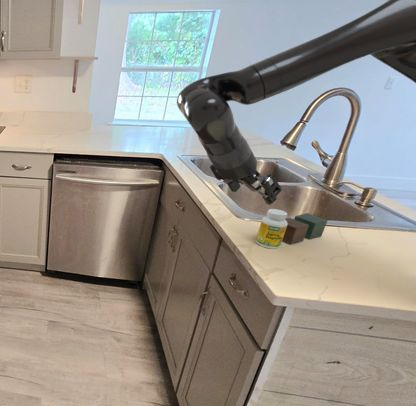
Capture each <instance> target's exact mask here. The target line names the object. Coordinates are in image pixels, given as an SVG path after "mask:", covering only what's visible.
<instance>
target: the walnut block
mask: <svg viewBox="0 0 416 406" xmlns="http://www.w3.org/2000/svg"><path fill="white" fill-rule="evenodd" d="M285 220H286V221H287V223H288V225H287V228H286V231H285V234H284V237H283V240H282V242H283V243H285V244H288V245H291V246H292V245H294V244H299V243H303V242H304V240H305V238H304V237H305V235H306V232H307V229H308V227H309V225H308V224H305V223H302V222H300V221H297V220H294V218H291V217H286V219H285Z"/></svg>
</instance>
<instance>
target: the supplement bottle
mask: <svg viewBox="0 0 416 406" xmlns="http://www.w3.org/2000/svg"><path fill="white" fill-rule="evenodd" d="M286 218H288V213H287V212H286V211H285V210H282V209H277V208H270V209H267V212H266V215H265V216H263V218H261V221H260V226H259V228H258V232H257V234H256V238H255V243H256V244H257V245H259V246H260V247H262V248H266V249H270V250H271V249H272V250H273V249H274V250H276V249H278V248H280V247H281V245H282V242H283V241H282V240H283V237H284V234H285V231H286V228H287V225H288V223H287V221H286V220H285V219H286Z"/></svg>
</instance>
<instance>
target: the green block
mask: <svg viewBox="0 0 416 406" xmlns="http://www.w3.org/2000/svg"><path fill="white" fill-rule="evenodd" d="M293 219H294V220H297V221H300V222H302V223H305V224H308V225H309V227H308V229H307V232H306V235H305V237H304V239H307V240H312V239H316V238H320V237H322V236H323V233H324V231H325V228H326V227H327V224H328V221H329V220H328V219H325V218H322V217H320V216H317V215H314V214H311V213H308V212H307V213H302V214H298V215H295V216H294V218H293Z"/></svg>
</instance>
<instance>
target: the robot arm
mask: <svg viewBox="0 0 416 406" xmlns="http://www.w3.org/2000/svg"><path fill="white" fill-rule="evenodd" d="M367 56H371V57H372V58H375V59H376V60H378V61H379V62H381V63H382V64H384V65H386V66H387V67H390V68H391V69H393V70H394V71H396V72H398V74H399V73H400V74H401V75H403V76H404V77H406V78H407V79H409V80H410V81H411V82H413V83H415V84H416V0H387V1H385V2H384V3H383V4H381V5H379V6H377V7H375V8H374V9H372V10H370V11H367V12H366V13H365V14H363V15H360V16H359V17H357V18H356V19H353V20H351V21H349V22H347V23H345V24H343V25H340V26H339V27H337V28H335V29H332V30H331V31H329V32H326V33H324V34H322V35H320V36H317V37H315V38H313V39H310V40H308V41H306V42H303V43H301V44H300V43H299V44H298V45H296V46H293V47H291V48H288V49H286V50H284V51H281V52H278V53H276V54H274V55H271V56H269V57H266V58H264V59H262V60H259V61H256V62H255V63H252V64H250V65H248V66H245V67H243V68H241V69H238V70H234V71H233V70H232V71H228V72H223V73H219V74H215V75H210V76H205V77H202V78H200V79H197V80H194V81H192V82H190V83H189V84H188V85H186V86H184V88H183V89H182V90H180V92H179V94H178V95H177V97H176V106H177V108H178V110H179V111H180V112H181V114H182V115H183V117H184V118H185V119H186V121H187V122H188V124H189V126H190V127H191V128H192V129H193V130H194V132H195V133H196V135H197V138H198V140H199V142H200V144H201V146H202V147H203V149H204V150H205V152H206V155H207V157H208V159H209V161H210V163H211V165H210V166H209V168H210V170H211V172H212V174H213V176H214V177H215V179H216V180H218V181H221V180H222V182H223V183H224V184H226V185H227V186H228V188H229V190H230V191H231V192H232V193H237V191H238V190H239V189H240V188H241V185H242V186H244V187H246V188H247V189H249V190H250V191H252V192H253V193H255V192H256V193H258V194H259V195H261V197H262V199H263V201H264V203H265V205H266V204H267V205H268V206H271V205H272V204H273V203H275V202H276V201H277V199H278V198H277V197H278V195H279V194H280V193H281V192H282V191H283V188H282V187H281V186H280V184H279V181H278V180H277V178H276V177H275V175H274V174H272V173H271V174H270V173H268V174H267V175H266V176H264V175H262V174H261V173H260V172H259V171H258V170H257V166H258V165H257V164H258V162H257V158H256V156H255V154H254V152H253V151H252V149H251V147H250V145H249V143H248V140H247V139H246V138H245V137H244V135H242V133H241V131H240V129H239V127H238V125H237V123H236V122H235V117H234V113H233V111H232V108H231V107H230V105H229V103H228V102H236V103H238V104H240V105H244V106H249V105H254V104H256V103H260V102H262V101H264V100H266V99H269V98H271V97H274V96H277V95H280V94H283V93H285V92H286V91H289V90H292V89H294V88H296V87H299V86H301V85H304V84H305V83H307V82H309V81H311V80H313V79H315V78H318V77H320V76H322V75H324V74H326V73H328V72H330V71H332V70H335V69H337V68H339V67H342V66H345V65H347V64H350V63H352V62H354V61H357V60H359V59H361V58H364V57H367ZM257 182H258V183H257ZM255 183H257V184H256V185H255V186H254V184H255ZM262 188H263V189H262Z"/></svg>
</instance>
